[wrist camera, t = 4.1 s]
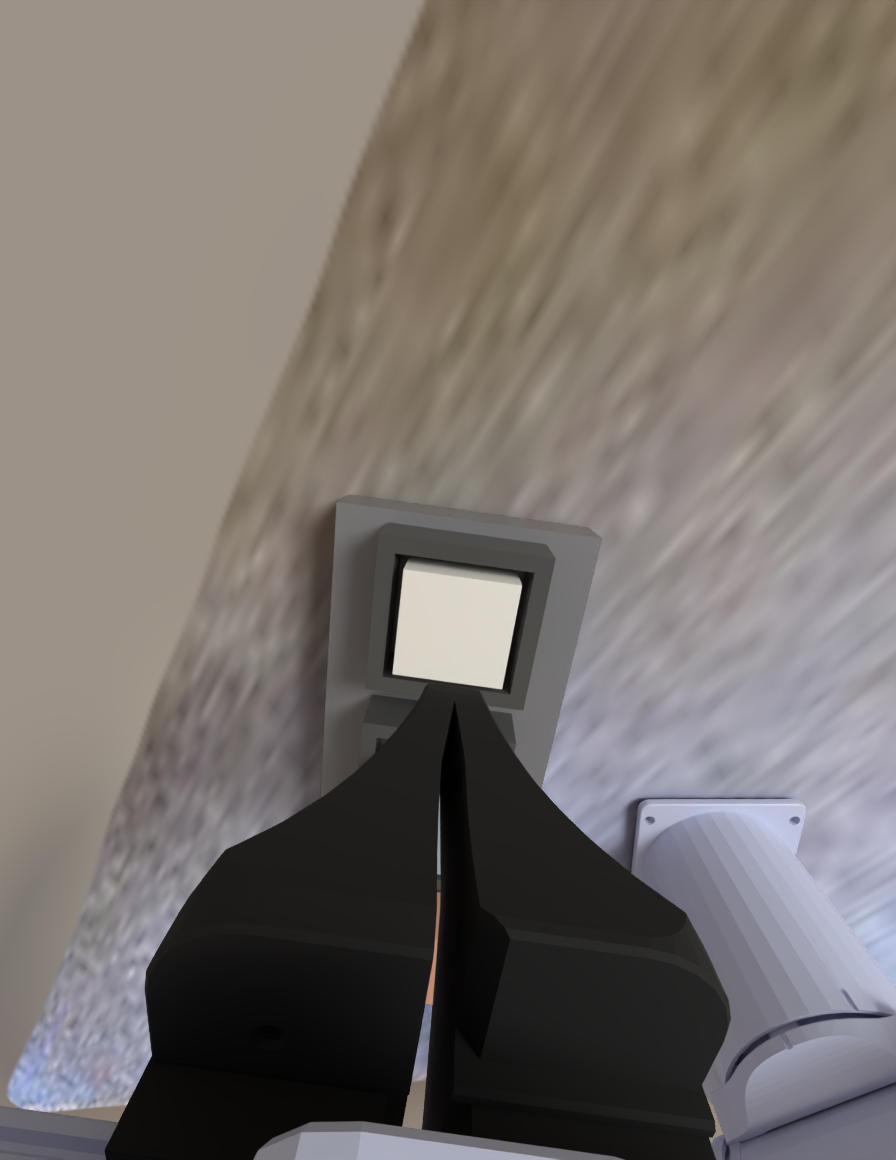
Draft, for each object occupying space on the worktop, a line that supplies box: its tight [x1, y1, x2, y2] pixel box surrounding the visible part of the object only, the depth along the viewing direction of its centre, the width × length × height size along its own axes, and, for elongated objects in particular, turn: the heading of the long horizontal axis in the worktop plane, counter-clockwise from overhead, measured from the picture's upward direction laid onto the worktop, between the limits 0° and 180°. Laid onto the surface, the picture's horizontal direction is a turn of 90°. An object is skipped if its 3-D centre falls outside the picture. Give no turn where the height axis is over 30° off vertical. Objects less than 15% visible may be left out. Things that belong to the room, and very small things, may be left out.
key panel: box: [320, 495, 602, 893], centre depth 21 cm, size 22×10×4 cm, turn 172°
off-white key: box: [392, 555, 522, 689], centre depth 17 cm, size 4×4×2 cm
